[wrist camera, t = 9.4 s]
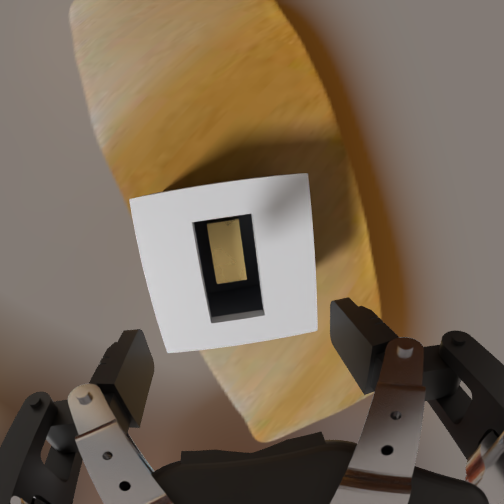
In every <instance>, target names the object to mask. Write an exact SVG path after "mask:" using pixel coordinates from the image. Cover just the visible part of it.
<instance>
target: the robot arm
mask: <svg viewBox="0 0 504 504" xmlns="http://www.w3.org/2000/svg"><path fill="white" fill-rule="evenodd" d="M330 337H331V341H332V344H333V346H334V348H335V349H336V351H337V352H338V354H339V355H340V357H341V359H342V360H343V362H344V363H345V365H346V366H347V368H348V370H349V371H350V373H351V374H352V376H353V377H354V379H355V381H356V382H357V384H358V385H359V387H360V389H361V390H362V392H363V393H364V395H365V394H368V393H371V392H374V396H373V399H372V402H371V406H370V409H369V412H368V415H367V418H366V421H365V424H364V427H363V430H362V433H361V436H360V438H359V441H358V444H357V443H353V442H349V441H342V440H324V437H323V435H322V432H318V433H314V434H310V435H306V436H302V437H297V438H293V439H288V440H285V441H283V442H280V443H278V444H276V445H273V446H271V447H268V448H265V449H262V450H260V451H257V452H254V453H242V452H231V451H221V450H203V451H182V452H181V461H177V462H174V463H170V464H168V465H166V466H163V467H161V468H160V469H158V470H156V471H154V470H153V469H152V468H151V466H150V465H149V464H148V462H147V461H146V460H145V458H144V457H143V455H142V454H141V452H140V451H139V450H138V448H137V446H136V445H135V443H134V442H133V440H132V439H131V437H130V436H129V434H128V429H129V427H135V428H139V427H140V423H141V419H142V416H143V412H144V408H145V404H146V400H147V396H148V392H149V388H150V384H151V381H152V377H153V374H154V362H153V358H152V356H151V353H150V350H149V347H148V345H147V342H146V339H145V336H144V334H143V332H142V330H140V329H137V330H126V331H123V333H122V335H121V337H120V338H119V340H118V342H115V343H114V344H112V345H111V346H110V347H109V348H108V349H107V351H106V352H105V354H104V356H103V358H102V359H101V361H100V365H98V367H97V369H96V371H95V373H94V374H93V377H92V378H91V380H90V382H89V384H83V385H81V386H78V387H76V388H75V389H74V390H72V392H71V393H70V394H69V396H68V400H62V401H56V402H53V401H52V399H51V397H50V396H49V395H48V394H47V393H46V392H36V393H34V394H32V395H30V396H29V397H28V398H27V399H26V400H25V402H24V403H23V405H22V407H21V409H20V411H19V412H18V414H17V416H16V417H15V419H14V421H13V423H12V425H11V427H10V429H9V431H8V433H7V435H6V437H5V439H4V441H3V443H2V445H1V447H0V504H72V503H73V498H74V493H75V489H76V484H77V480H78V476H79V472H80V468H81V464H82V460H83V461H84V463H85V466H86V468H87V471H88V473H89V474H90V477H91V479H92V481H93V483H94V485H95V487H96V490H97V491H98V493H99V495H100V497H101V499H102V501H103V503H104V504H499V503H501V502H502V501H503V500H504V365H503V364H502V363H501V362H500V361H499V360H497V359H496V358H495V357H494V356H493V355H492V354H491V353H489V351H487V350H486V349H485V348H484V347H483V346H482V345H480V343H478V342H477V341H476V340H475V339H474V338H473V337H471V336H470V335H469V334H467V333H465V332H461V331H450V332H447V333H446V334H444V335H443V337H442V341H441V344H440V345H435V346H428V347H423V345H422V344H421V343H420V342H419V341H417V340H415V339H413V338H408V337H401V338H399V337H398V336H397V335H396V334H395V333H394V332H393V331H392V330H391V329H390V328H389V327H388V326H387V325H386V324H385V323H383V321H382V320H381V319H380V318H379V317H378V316H377V315H376V314H375V313H374V312H373V311H372V310H370V309H368V308H365V307H363V306H359V307H358V306H357V305H356V304H355V303H354V302H353V301H352V300H351V299H350V298H344V299H339V300H334V301H332V302H331V305H330ZM461 380H462V381H463V382H464V383H465V384H466V385H467V387H468V388H469V389H470V390H471V392H472V399H471V398H470V397H469V396H468V395H467V394H466V392H465V391H464V390H463V389H462V388H461V387H460V382H461ZM425 401H427V402H428V403H429V404H430V406H431V407H432V409H433V410H434V411H435V413H436V414H437V416H438V417H439V419H440V420H441V421H442V423H443V424H444V426H445V427H446V429H447V430H448V432H449V433H450V435H451V436H452V438H453V439H454V440H455V442H456V443H457V445H458V447H459V448H460V449H461V451H462V453H463V454H464V456H465V457H466V459H467V463H466V467H465V470H466V477H465V481H463V480H459V479H455V478H451V477H448V476H444V475H441V474H437V473H434V472H431V471H428V470H425V469H422V468H419V467H416V466H415V461H416V456H417V451H418V446H419V441H420V435H421V428H422V420H423V412H424V403H425ZM45 440H47V441H48V442H49V443H50V444H51V445H52V446H51V448H50V451H49V454H48V457H47V460H46V463H45V465H44V464H43V462H42V460H41V457H40V454H41V450H42V447H43V445H44V442H45Z"/></svg>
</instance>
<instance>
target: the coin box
mask: <svg viewBox="0 0 504 504" xmlns="http://www.w3.org/2000/svg"><path fill="white" fill-rule="evenodd" d="M129 200H130V206H131V212H132V218H133V223H134V228H135V233H136V238H137V243H138V248H139V253H140V257H141V261H142V266H143V270H144V274H145V278H146V282H147V286H148V290H149V294H150V297H151V301H152V304H153V308H154V312H155V315H156V318H157V322H158V325H159V328H160V332H161V335H162V338H163V341H164V344H165V347H166V350H167V353H175V352H185V351H196V350H204V349H213V348H221V347H228V346H235V345H242V344H248V343H255V342H261V341H267V340H272V339H278V338H283V337H289V336H294V335H299V334H304V333H309V332H313V331H317V291H316V268H315V251H314V236H313V222H312V210H311V199H310V189H309V179H308V173H301V174H285V175H273V176H264V177H255V178H247V179H239V180H232V181H225V182H218V183H211V184H204V185H198V186H192V187H186V188H180V189H175V190H169V191H164V192H159V193H154V194H150V195H145V196H141V197H137V198H133V199H129ZM231 216H237V217H238V219H239V226H240V233H241V240H242V248H243V255H244V262H245V269H246V276H247V280H240V281H234V282H227V283H220V284H217V282H216V276H215V271H214V265H213V259H212V253H211V247H210V241H209V235H208V229H207V222H208V220H210V219H217V218H224V217H231Z"/></svg>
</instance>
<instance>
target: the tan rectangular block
mask: <svg viewBox="0 0 504 504" xmlns="http://www.w3.org/2000/svg"><path fill="white" fill-rule="evenodd" d="M207 229H208V235H209V241H210V247H211V253H212V259H213V265H214V271H215V276H216V282H217V284H220V283H227V282H234V281H240V280H247V276H246V269H245V262H244V255H243V248H242V240H241V233H240V226H239V219H238V217H237V216H231V217H224V218H217V219H210V220H208V222H207Z"/></svg>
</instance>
